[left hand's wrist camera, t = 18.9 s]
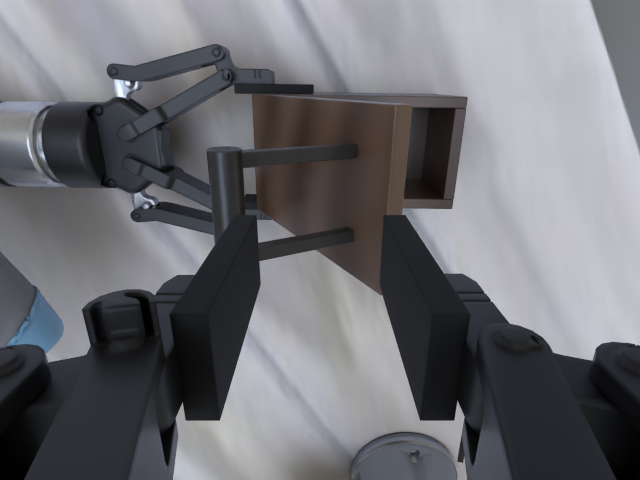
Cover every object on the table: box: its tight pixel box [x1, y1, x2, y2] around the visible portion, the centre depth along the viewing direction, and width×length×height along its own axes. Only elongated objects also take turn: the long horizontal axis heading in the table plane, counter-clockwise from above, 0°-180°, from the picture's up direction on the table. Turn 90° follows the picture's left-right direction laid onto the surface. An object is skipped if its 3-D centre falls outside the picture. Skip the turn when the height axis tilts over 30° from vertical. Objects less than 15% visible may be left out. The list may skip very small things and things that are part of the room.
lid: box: [207, 94, 412, 295], centre depth 25 cm, size 17×9×8 cm
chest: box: [261, 92, 467, 209], centre depth 38 cm, size 17×9×9 cm, turn 89°
